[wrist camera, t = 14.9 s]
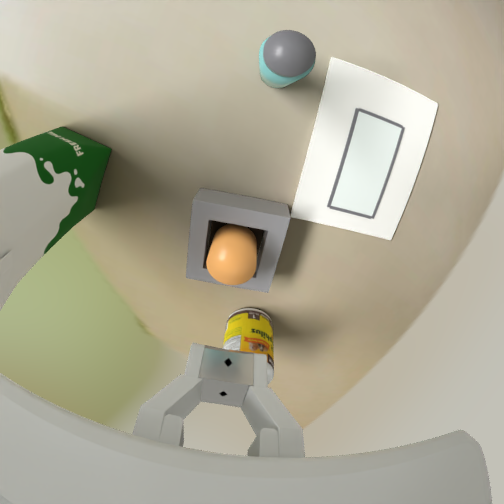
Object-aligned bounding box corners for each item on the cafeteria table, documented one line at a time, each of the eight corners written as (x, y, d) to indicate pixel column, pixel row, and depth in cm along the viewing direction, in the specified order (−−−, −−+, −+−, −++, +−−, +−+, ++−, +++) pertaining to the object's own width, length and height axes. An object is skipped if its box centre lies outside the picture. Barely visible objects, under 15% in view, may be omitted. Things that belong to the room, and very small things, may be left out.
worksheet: (330, 57, 17) (332, 56, 17) (436, 103, 18) (438, 104, 18) (290, 215, 25) (290, 217, 25) (389, 238, 26) (391, 240, 26)
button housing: (200, 187, 24) (192, 199, 22) (287, 204, 25) (290, 218, 22) (192, 260, 28) (185, 277, 26) (267, 274, 29) (268, 292, 26)
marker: (263, 53, 18) (265, 21, 9) (297, 61, 18) (325, 35, 9) (256, 84, 19) (253, 72, 11) (290, 91, 19) (313, 86, 11)
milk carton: (43, 188, 24) (-81, 297, 7) (59, 114, 20) (-110, 192, 3) (100, 220, 26) (-18, 366, 9) (123, 142, 22) (-62, 265, 5)
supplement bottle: (281, 325, 33) (285, 398, 24) (245, 341, 35) (240, 410, 26) (254, 298, 31) (251, 374, 22) (217, 317, 33) (205, 389, 24)
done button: (215, 220, 24) (209, 239, 21) (261, 228, 24) (261, 249, 21) (210, 258, 26) (204, 280, 23) (252, 265, 26) (251, 288, 23)
